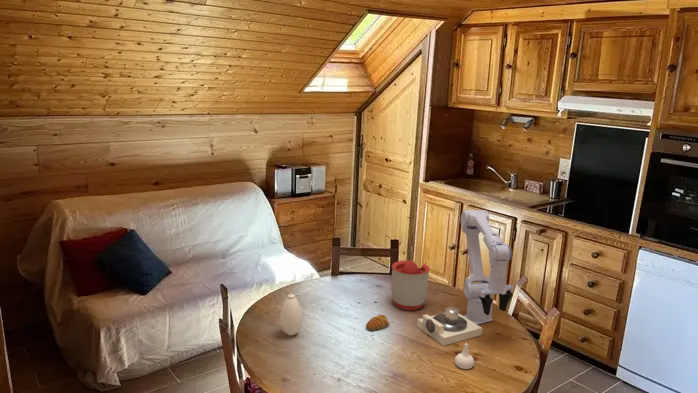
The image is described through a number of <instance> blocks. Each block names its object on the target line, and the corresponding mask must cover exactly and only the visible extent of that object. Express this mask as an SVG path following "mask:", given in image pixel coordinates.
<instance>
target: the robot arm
mask: <svg viewBox="0 0 698 393" xmlns="http://www.w3.org/2000/svg"><path fill="white" fill-rule="evenodd" d="M489 214H490V213H489V212H488V211H487V210H486V209H483V210H472V209H471V210H466V209H464V210H463V211H462V213H461V216H460V225H461V226H460V227H461V232H463V233H464V234H465V238H466V239H465V240H466V247H467V253H468V254H467V255H468V256H467V257H468V264H469V272H470V273H469V275H468V276H467V277H466V278H465V279H464V282H463V283H464V287H463V291H464V295H465V297H466V298H467V309H466V314H464V315H462V316H464V317H465V318H467V319H469V320H470V321H472V322H473V323H475V324H477V325H480V324H484V323H487V322H493V318H492V312H493V302H494V298H492V296H493V295H498V310H500V311H502V312H505V311H506V308H507V307H508V306H507V305H508V303H509V302H510V300H511V299H512V298H513V295H514V293H513V289H514V286H513V285H510V284H506V282H507V272H508V271H507V270H508V262H509V261H511V260H512V253H513V252H512V248H511V246H510V244H506V243H505V242H504V241H503V240H502V238H501V237H500V235H499V233H497V232H496V231H494V230H493V229H492V226H491V225H490V223H489V222H490V216H489ZM480 233H481V234H482V235H483V238H482V239H483V242H484V244H485V246H486V247H487V249H488V257H489V260H488V261H489V265H490V268H489V270H490V271H489V276H487V275H485V274H484V269H483V260H482V253H481V252H482V250H481V245H480V238H479V236H480Z"/></svg>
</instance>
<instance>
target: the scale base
mask: <svg viewBox="0 0 698 393" xmlns="http://www.w3.org/2000/svg"><path fill="white" fill-rule="evenodd" d="M442 314H445V312H443V313H442ZM436 315H437V314H435V315H434V314H433V315H429V314H423V315H422V317H421V318H418V319H417V324H416V325H417V326H416V327H417V328H418V329H420V330H421V331H422V332H424V333H425V334H427V335H428V336H429V337H431V338H432V339H433V340H435V341H437V342H438V343H439V344H440V345H442V346H447V345H451V344H455V343H459V342H461V341H465V340H469V339H472V338H476V337H480V336H483V335H482V334H483V327H481V326H480V325H479V324H475V323H473V322H472V321H470V320H469V319H467V318H465V317H464V316H463V315H462V314H460V313H459V314H458V316H460V317H462V318H464V319H465V320H466V321H467V328H466V329H464V330H462V331H455V332H452V331H445V330H444V325H442V324H441V323H439V322H438V321H436V320H435V319H433V317H434V316H436Z"/></svg>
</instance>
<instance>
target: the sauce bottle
mask: <svg viewBox="0 0 698 393" xmlns="http://www.w3.org/2000/svg"><path fill="white" fill-rule="evenodd" d="M302 323H303V313H302V308H301V305H300V302H299V301H298V299H297V298H296V296H295V294H293V289H292V288H290V294H288V295H287V298H286V299H285V300H284V302H283V304H282V306H281V310H280V315H279V324H280V328H281V330H282V331H283V333H285V334H286V333H287V334H288V336H294V335H296V334H297V333H298V332H299V331H300V329H301V326H302ZM287 334H286V335H287Z"/></svg>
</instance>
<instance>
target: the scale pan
mask: <svg viewBox="0 0 698 393" xmlns="http://www.w3.org/2000/svg"><path fill="white" fill-rule="evenodd" d="M435 315H436V316H434V315H433V316H434V317H433V319H435V320H436V321H438V322H439V323H441V324H442V325H444V330H445V331H452V332H455V331H462V330H464V329H466V328H467V321H466V320H465V319H464V318H462V317H460V316H458V324H457V325H448V324H446V323H445V322H444V318H445V314H443V313H439V314H435Z"/></svg>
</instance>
